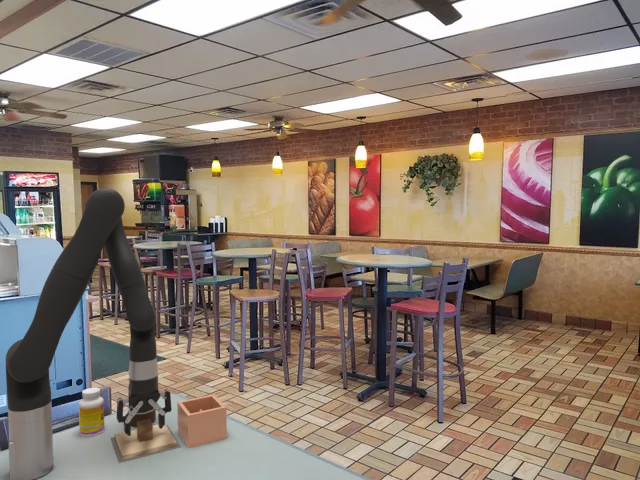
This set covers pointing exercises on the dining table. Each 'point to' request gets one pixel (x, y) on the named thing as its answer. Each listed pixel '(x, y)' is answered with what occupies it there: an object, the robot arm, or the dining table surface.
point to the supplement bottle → (91, 413)
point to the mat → (141, 455)
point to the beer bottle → (142, 415)
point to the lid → (144, 440)
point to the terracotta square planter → (202, 420)
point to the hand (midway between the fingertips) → (145, 431)
